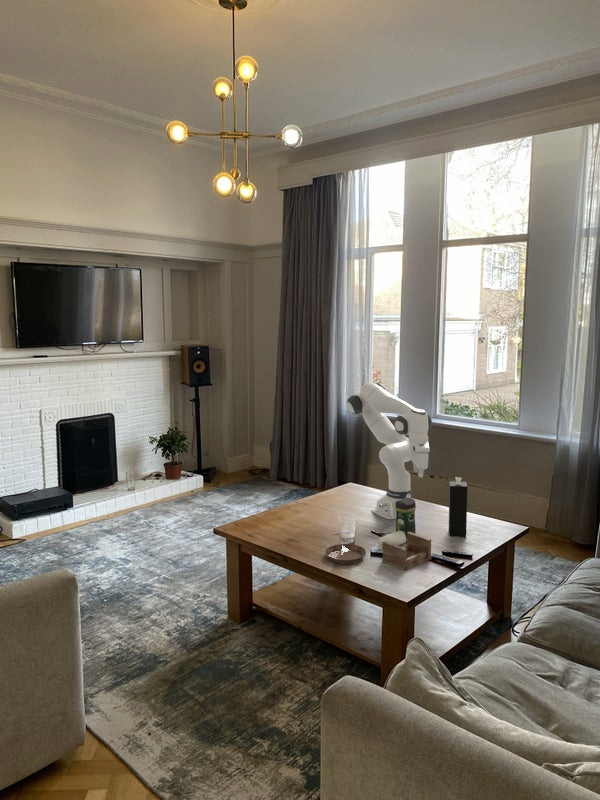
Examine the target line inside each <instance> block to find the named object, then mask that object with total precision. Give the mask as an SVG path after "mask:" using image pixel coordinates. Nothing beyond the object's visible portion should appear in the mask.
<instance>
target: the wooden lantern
mask: <svg viewBox="0 0 600 800" xmlns="http://www.w3.org/2000/svg"><path fill="white" fill-rule="evenodd" d="M431 560H432V539H431V538H428V537H426V536H423V535H421V534H417V533H416V534H415V533H412V532H407V540H406V545H404V546H401V545H395V544H393V543H390V542H387V541H383V550H382V559H381V562H382V564H385V565H388V566H391V567H393V568H395V569H398V570H400V571H402V572H405V571H407V570H410V569H412V568H415V567H417V566H420V565H421V564H424V563H425V562H428V561H431Z"/></svg>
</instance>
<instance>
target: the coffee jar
mask: <svg viewBox="0 0 600 800" xmlns="http://www.w3.org/2000/svg"><path fill="white" fill-rule="evenodd" d="M416 508H417V507H416V501H415V499H414V498H412V497H411V498H408V497H407V498H404V499H401V500H399V501H396V505H395V509H396V519H395V532H397V531H402V532H403V533H404V534H405V536H406V541H407V532H412V533H415V534H417V533H416V531H417V530H416Z"/></svg>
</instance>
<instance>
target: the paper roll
mask: <svg viewBox="0 0 600 800" xmlns="http://www.w3.org/2000/svg"><path fill="white" fill-rule="evenodd" d="M383 541H387V542H390V543H393V544H395V545H398V546H401V545H403V544H405V543H406V542H407V540H406V536H405V534H404V533H403V532H402V531H397V532H396V531H394V532H391V533H390V534H386V535H384V536H381V537H379V538H378V540H377V544H378V546H379V548H380V550H382V549H383Z"/></svg>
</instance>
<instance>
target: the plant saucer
mask: <svg viewBox="0 0 600 800" xmlns="http://www.w3.org/2000/svg"><path fill="white" fill-rule="evenodd" d="M342 545H343V546H345V547H346V548H348V549H349V550H351V551H348V552H344V553H343V555H340V556H339V557H336V558H340V559H335V558H332V557H329V556H328V555H329V554H330V553H331V552H335V551H340V550H341V549H342ZM336 553H338V552H336ZM324 554H325V556H326V557H327V558H328V559H329V561H331V560H332V561H331V562H333V561H334V562H333V563H335V562H337V563H336V564H340V563H343V564H342V565H352V564H355V563H358V562H360V561H361V560H362V559H363V558H364V557H365V555H366V554H367V551H366V549H365V547H362V546H360V545H358V544H357V545H356V544H354V543H352V544H351V543H339V544H335V545H334V544H333V545H331V546H329V547H327V548H326V549H325V551H324ZM339 554H341V553H339ZM351 563H352V564H351Z"/></svg>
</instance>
